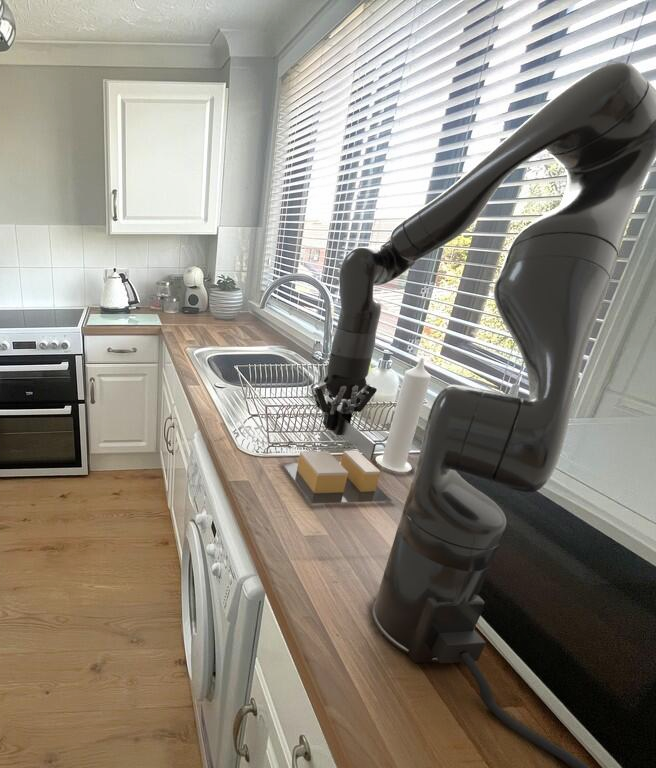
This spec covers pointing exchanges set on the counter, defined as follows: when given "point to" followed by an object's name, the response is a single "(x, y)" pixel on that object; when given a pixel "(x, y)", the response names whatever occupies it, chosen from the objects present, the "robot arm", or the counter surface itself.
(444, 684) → the counter surface
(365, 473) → the slice
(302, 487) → the board
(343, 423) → the knife
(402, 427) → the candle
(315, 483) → the tan rectangular block
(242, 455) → the counter surface
